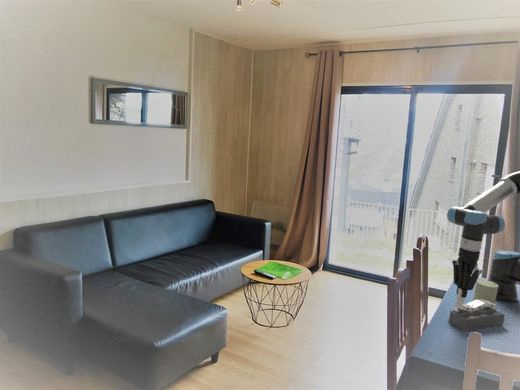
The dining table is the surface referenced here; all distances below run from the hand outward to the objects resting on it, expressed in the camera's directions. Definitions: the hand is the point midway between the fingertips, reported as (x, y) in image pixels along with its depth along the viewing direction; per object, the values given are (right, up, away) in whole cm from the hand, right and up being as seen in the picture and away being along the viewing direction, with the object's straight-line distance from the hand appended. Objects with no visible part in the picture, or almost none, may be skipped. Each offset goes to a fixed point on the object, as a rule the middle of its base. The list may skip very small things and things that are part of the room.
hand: (459, 303), depth 171 cm
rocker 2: (+9, -2, +4) cm, 10 cm away
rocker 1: (+2, -2, +1) cm, 3 cm away
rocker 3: (+15, -2, +7) cm, 17 cm away
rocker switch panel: (+9, -10, +4) cm, 13 cm away
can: (+22, -8, +22) cm, 32 cm away
